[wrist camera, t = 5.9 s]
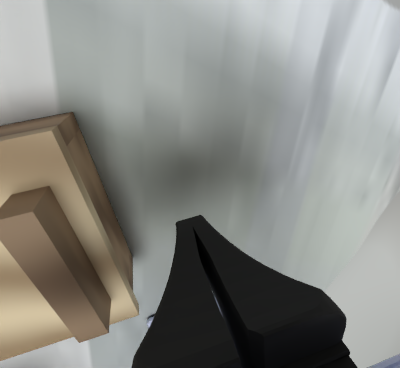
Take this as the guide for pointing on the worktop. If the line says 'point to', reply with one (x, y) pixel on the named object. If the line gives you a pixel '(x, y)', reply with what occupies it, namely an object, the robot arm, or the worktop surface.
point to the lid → (53, 250)
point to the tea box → (83, 178)
